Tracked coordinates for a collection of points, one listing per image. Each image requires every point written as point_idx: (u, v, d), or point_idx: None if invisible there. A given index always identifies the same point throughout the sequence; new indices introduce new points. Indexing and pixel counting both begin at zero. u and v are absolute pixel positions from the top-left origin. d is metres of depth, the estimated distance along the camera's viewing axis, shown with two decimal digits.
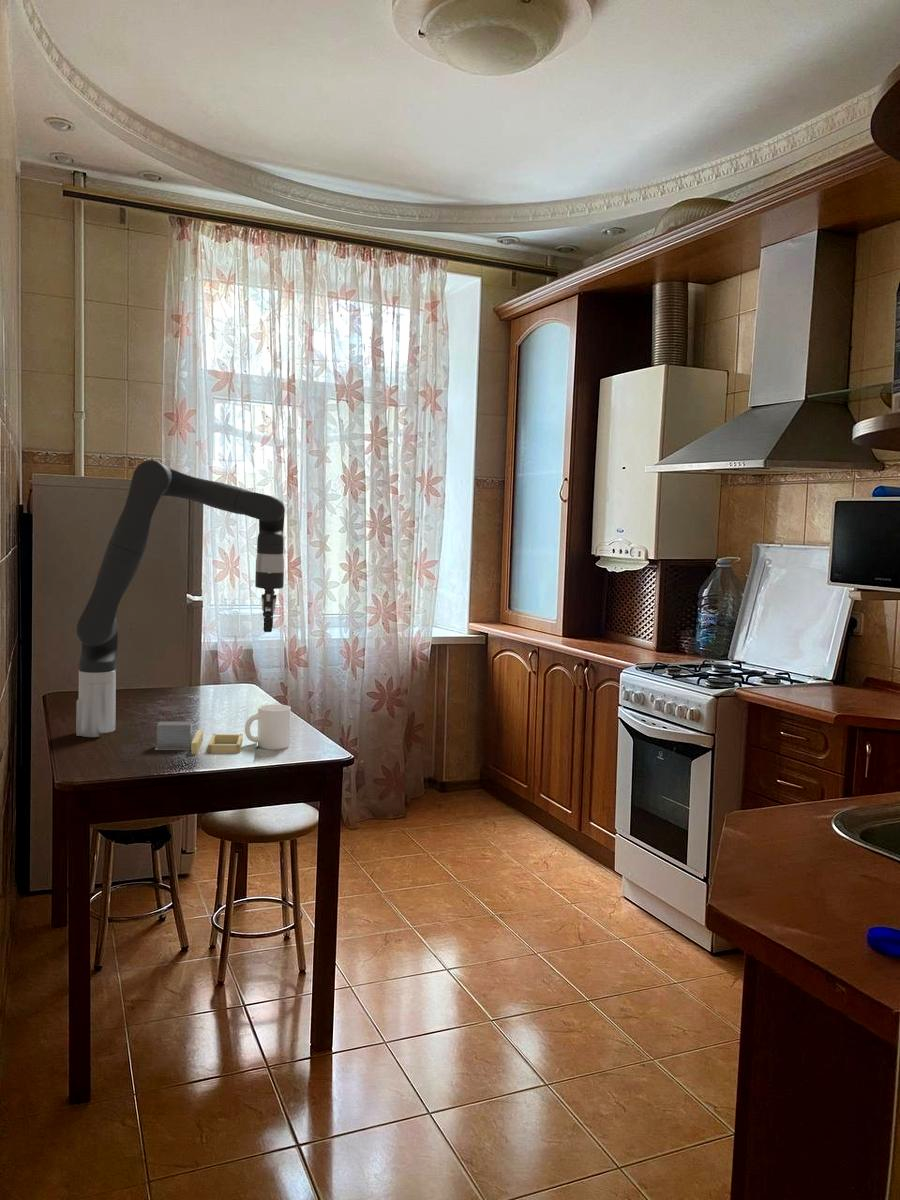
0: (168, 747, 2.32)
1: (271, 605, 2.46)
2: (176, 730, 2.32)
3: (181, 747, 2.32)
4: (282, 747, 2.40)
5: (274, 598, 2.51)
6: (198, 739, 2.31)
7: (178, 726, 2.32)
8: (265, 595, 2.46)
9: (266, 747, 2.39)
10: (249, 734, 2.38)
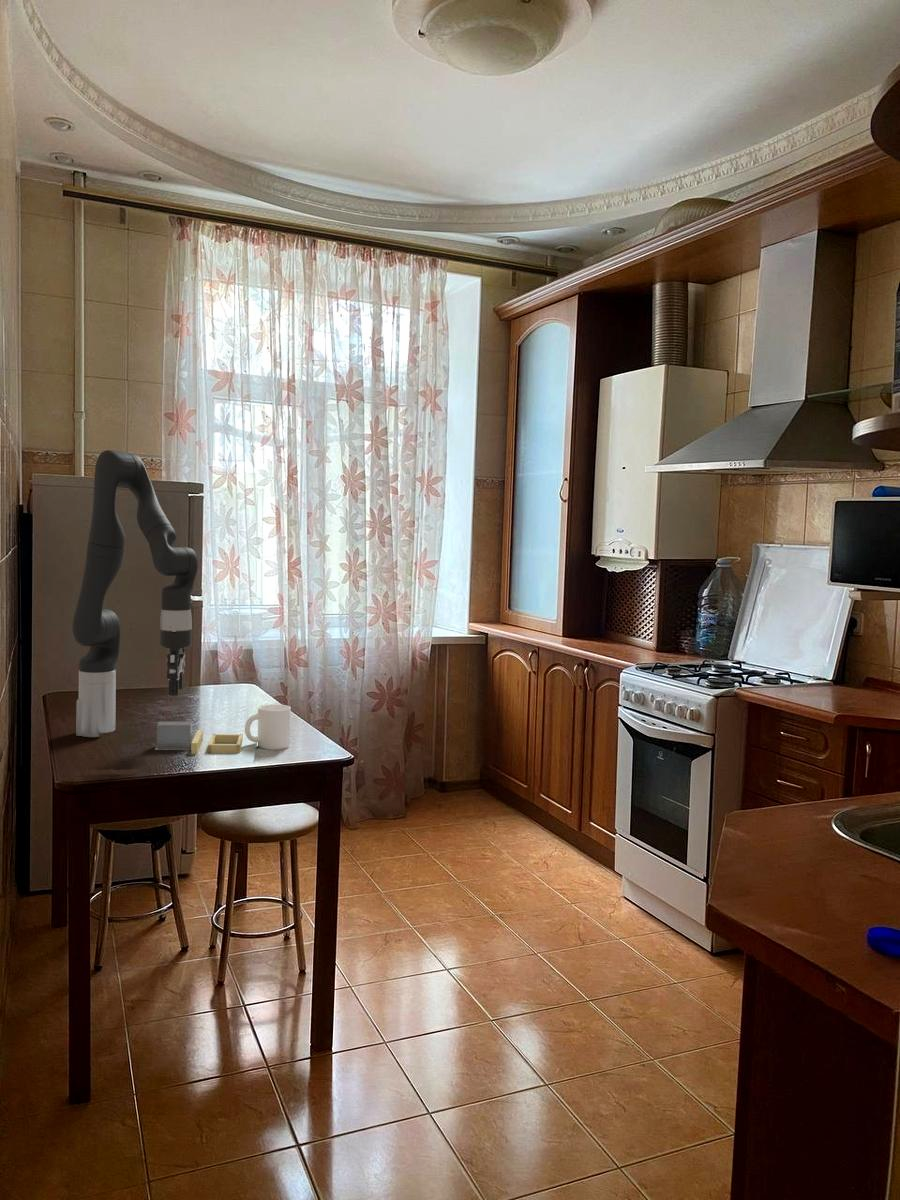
0: (168, 747, 2.32)
1: (176, 667, 2.25)
2: (176, 730, 2.32)
3: (181, 747, 2.32)
4: (282, 747, 2.40)
5: (181, 658, 2.30)
6: (198, 739, 2.31)
7: (178, 726, 2.32)
8: (169, 656, 2.25)
9: (266, 747, 2.39)
10: (249, 734, 2.38)
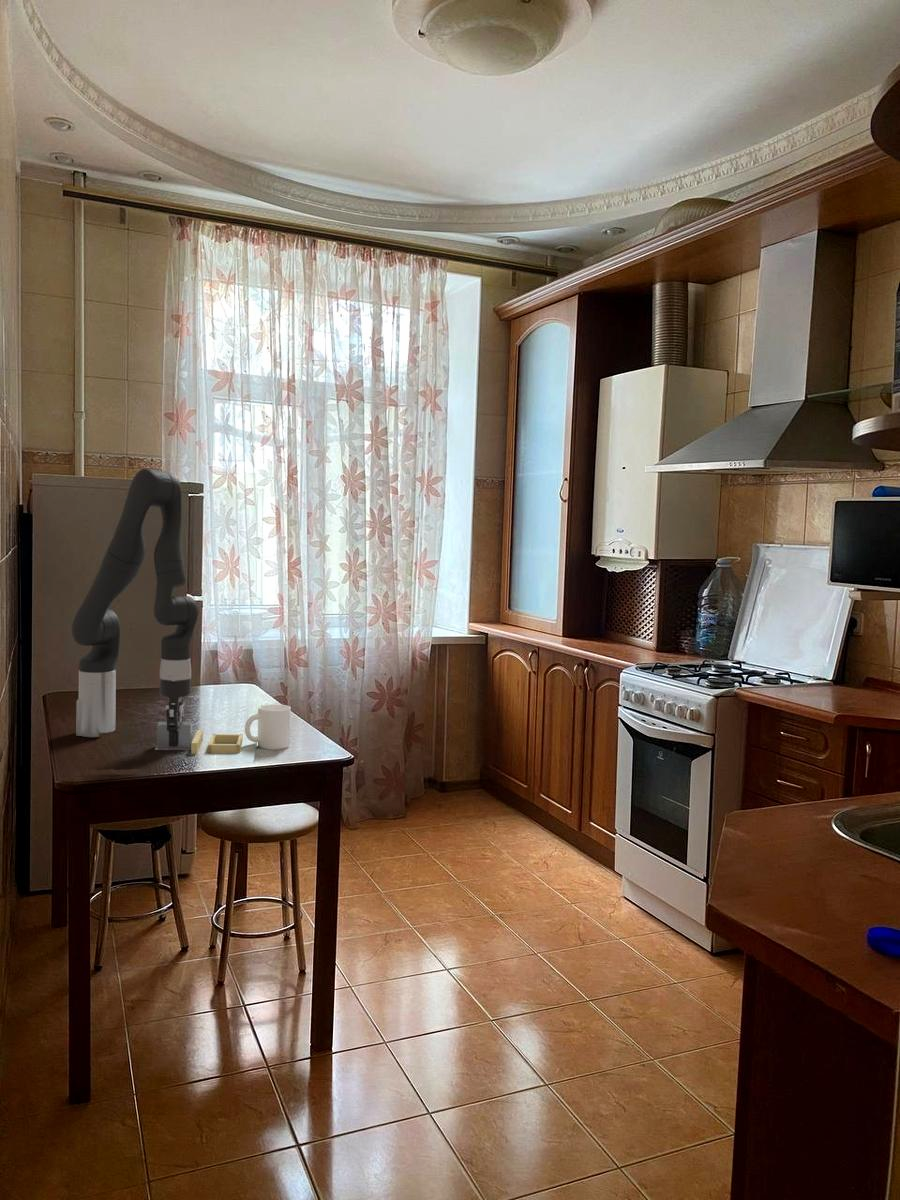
0: (168, 747, 2.32)
1: (175, 721, 2.28)
2: None
3: (181, 747, 2.32)
4: (282, 747, 2.40)
5: (180, 708, 2.31)
6: (198, 739, 2.31)
7: None
8: (168, 712, 2.26)
9: (266, 747, 2.39)
10: (249, 734, 2.38)
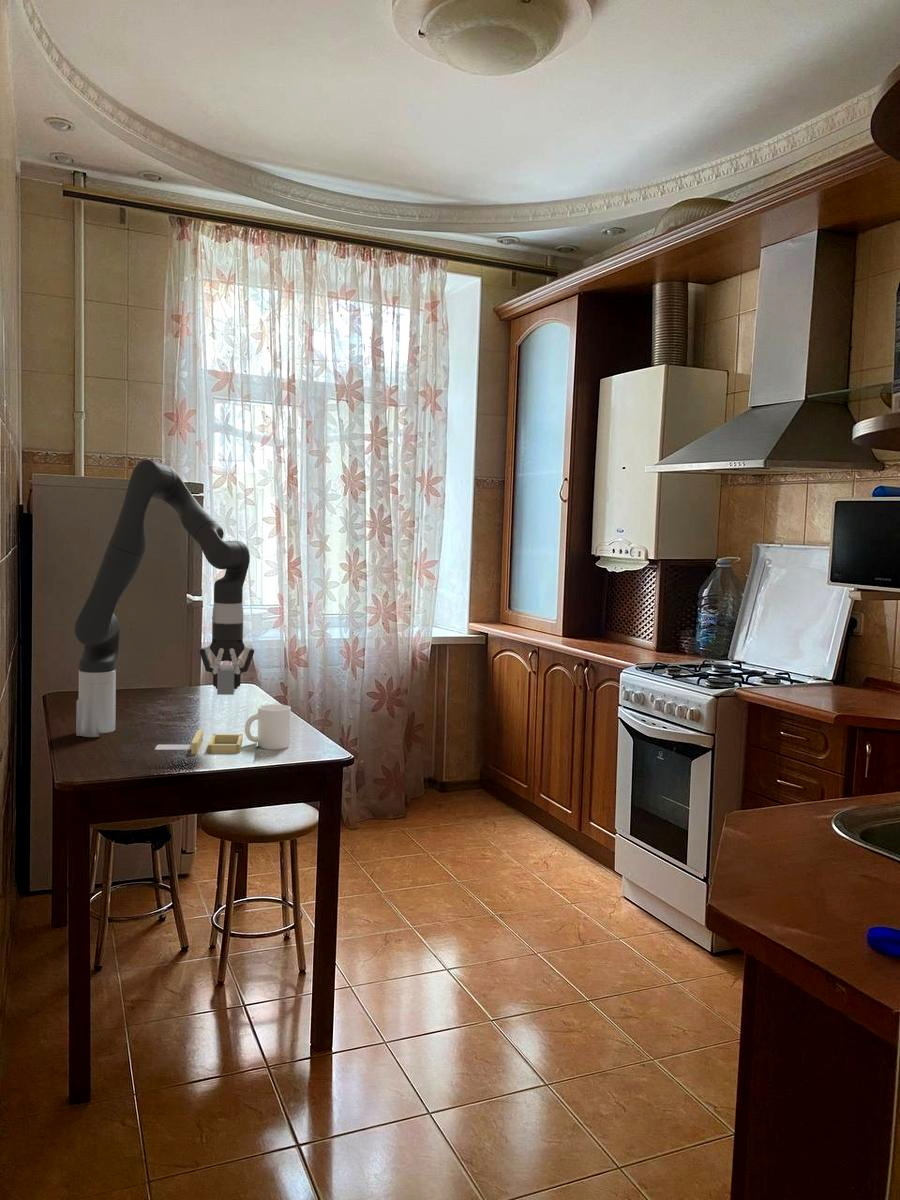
0: None
1: None
2: None
3: None
4: (282, 747, 2.40)
5: (218, 651, 2.32)
6: (198, 739, 2.31)
7: (218, 669, 2.33)
8: None
9: (266, 747, 2.39)
10: (249, 734, 2.38)
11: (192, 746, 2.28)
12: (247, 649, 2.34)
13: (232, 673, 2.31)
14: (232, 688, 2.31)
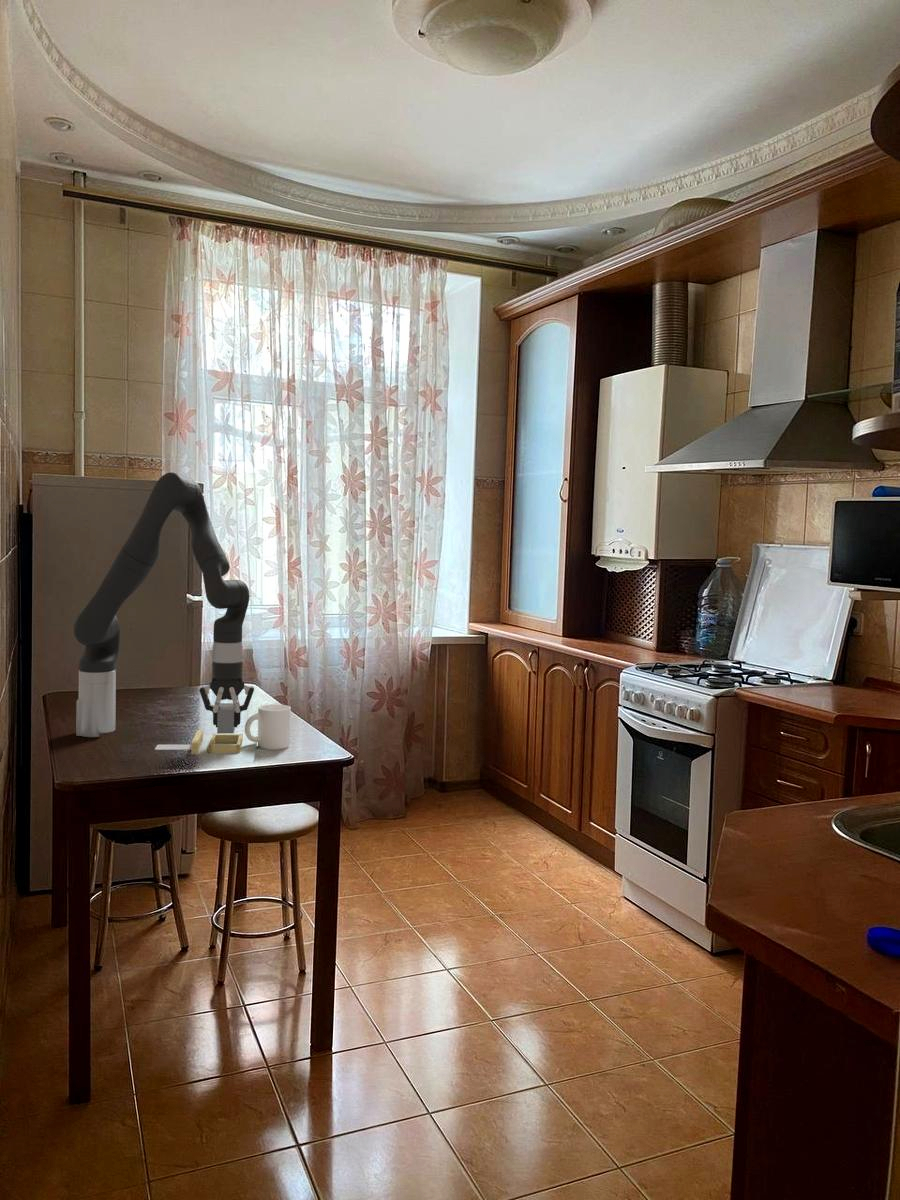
0: None
1: None
2: None
3: None
4: (282, 747, 2.40)
5: (218, 690, 2.33)
6: (198, 739, 2.31)
7: (218, 708, 2.34)
8: None
9: (266, 747, 2.39)
10: (249, 734, 2.38)
11: (192, 746, 2.28)
12: (247, 687, 2.35)
13: (232, 712, 2.31)
14: (232, 727, 2.32)
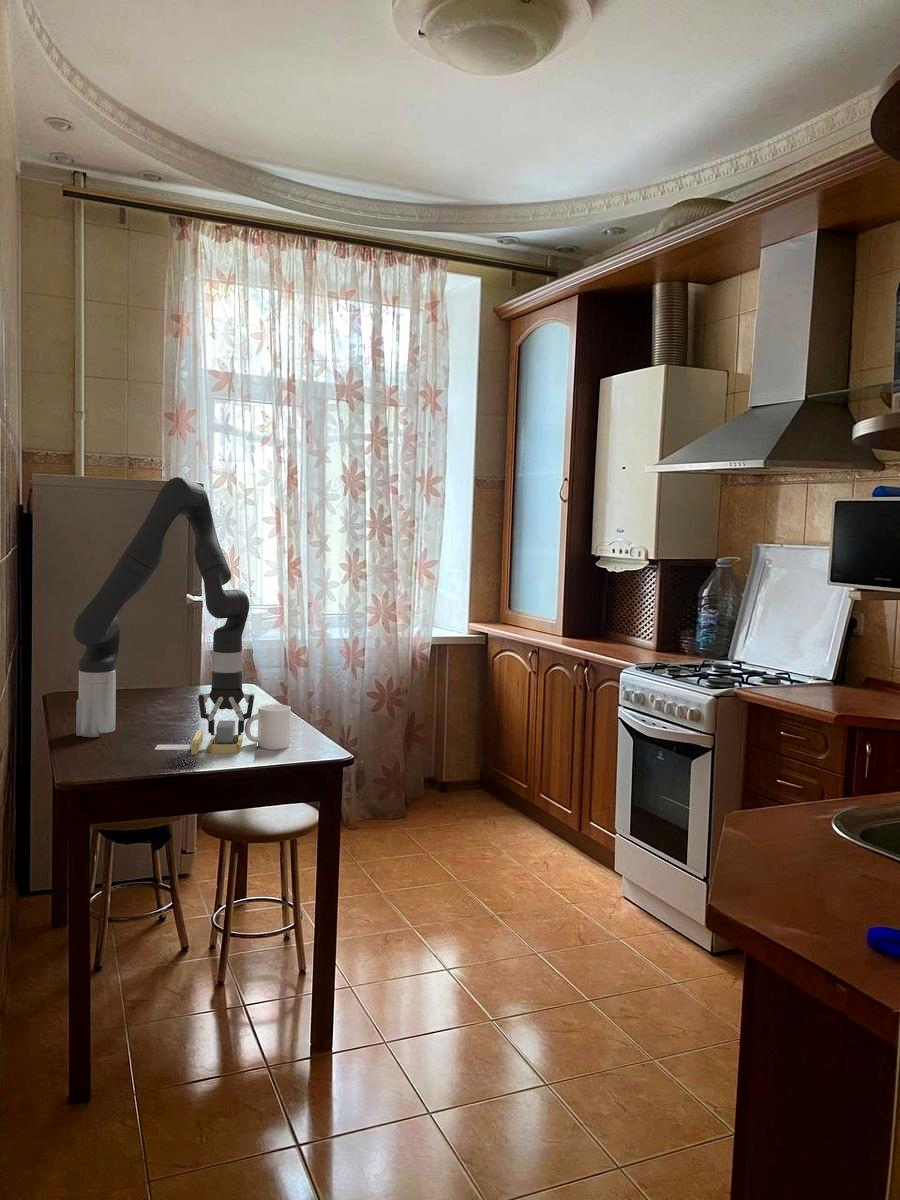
0: None
1: None
2: None
3: None
4: (282, 747, 2.40)
5: (217, 699, 2.33)
6: (198, 739, 2.31)
7: (217, 726, 2.34)
8: None
9: (266, 747, 2.39)
10: (249, 734, 2.38)
11: (192, 746, 2.28)
12: (247, 696, 2.35)
13: (231, 730, 2.32)
14: None
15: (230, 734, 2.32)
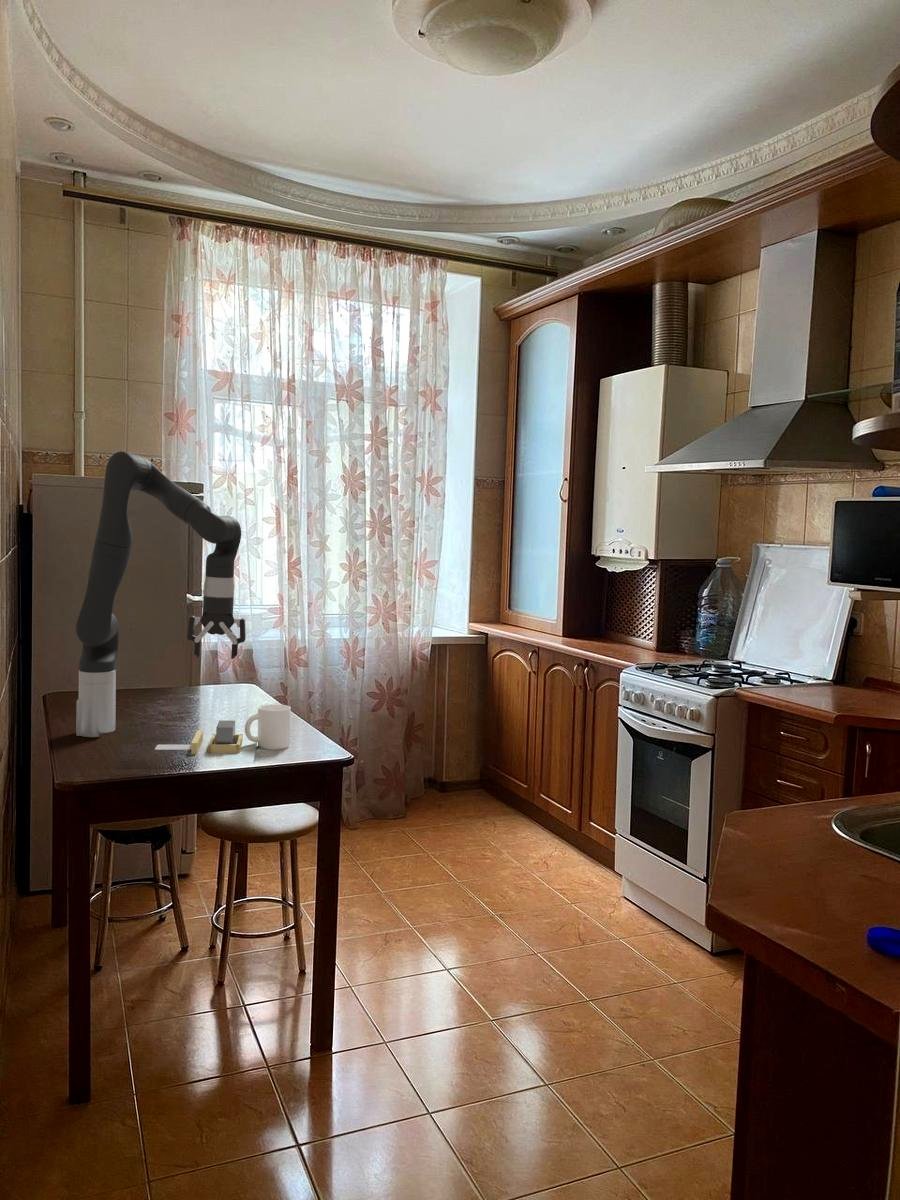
0: None
1: (188, 628, 2.36)
2: None
3: None
4: (282, 747, 2.40)
5: (208, 623, 2.35)
6: (198, 739, 2.31)
7: (217, 726, 2.34)
8: None
9: (266, 747, 2.39)
10: (249, 734, 2.38)
11: (192, 746, 2.28)
12: (237, 620, 2.37)
13: (231, 730, 2.32)
14: None
15: (230, 734, 2.32)
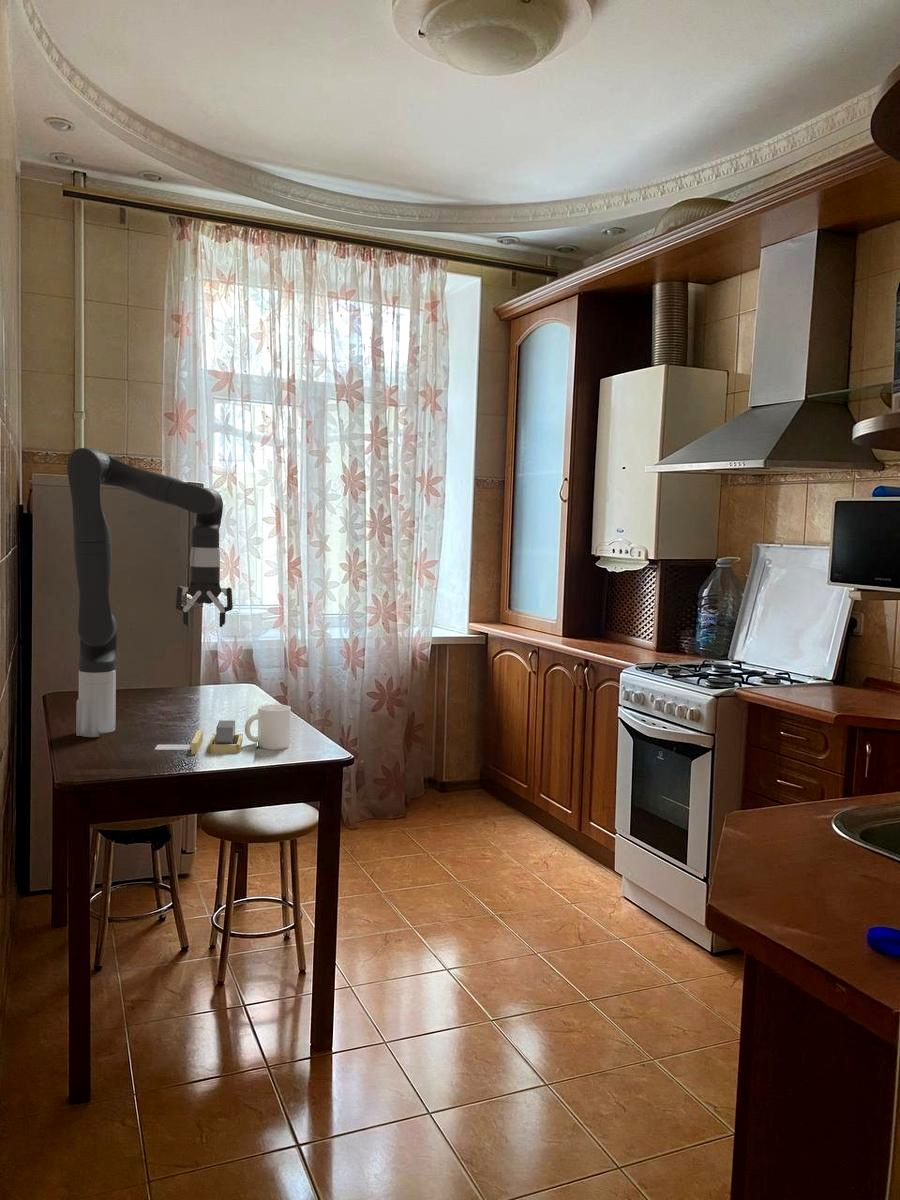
0: None
1: None
2: None
3: None
4: (282, 747, 2.40)
5: (195, 593, 2.42)
6: (198, 739, 2.31)
7: (217, 726, 2.34)
8: None
9: (266, 747, 2.39)
10: (249, 734, 2.38)
11: (192, 746, 2.28)
12: (224, 589, 2.45)
13: (231, 730, 2.32)
14: None
15: (230, 734, 2.32)
